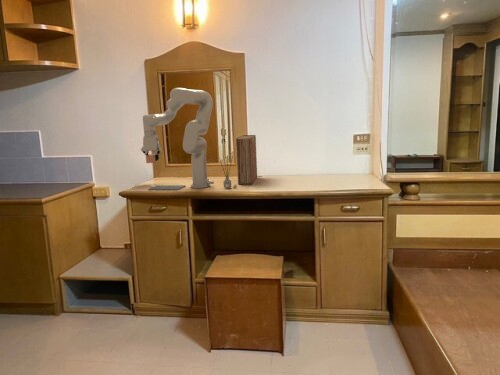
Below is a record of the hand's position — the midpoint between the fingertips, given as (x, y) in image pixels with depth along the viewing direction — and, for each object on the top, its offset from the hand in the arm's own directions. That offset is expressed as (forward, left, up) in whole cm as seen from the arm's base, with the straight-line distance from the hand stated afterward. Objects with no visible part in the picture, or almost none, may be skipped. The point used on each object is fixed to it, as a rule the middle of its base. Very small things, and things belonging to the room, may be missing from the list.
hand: (152, 160), depth 262 cm
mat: (-16, +14, -16) cm, 27 cm away
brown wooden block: (-63, -11, -17) cm, 66 cm away
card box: (0, 0, -1) cm, 1 cm away
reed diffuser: (-56, +12, -17) cm, 59 cm away
